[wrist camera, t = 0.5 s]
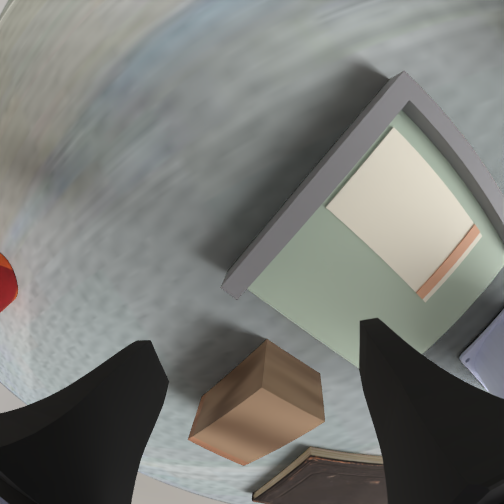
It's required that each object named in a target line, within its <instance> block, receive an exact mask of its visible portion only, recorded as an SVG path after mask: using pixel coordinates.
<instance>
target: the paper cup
mask: <svg viewBox="0 0 504 504" xmlns="http://www.w3.org/2000/svg"><path fill="white" fill-rule="evenodd" d="M17 294H18V285H17V280H16V276H15V274H14V271H13V269H12V267H11V265H10V263H9V262H8V260H7V259H6V258H5V257H4V256H3V255H2V254H1V253H0V312H1V311H3V310H4V309H5V308H6V307H7V306H8V305H9V304H10V303H11V302H12V301H13V300H14V299H15V298H16V297H17Z"/></svg>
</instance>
